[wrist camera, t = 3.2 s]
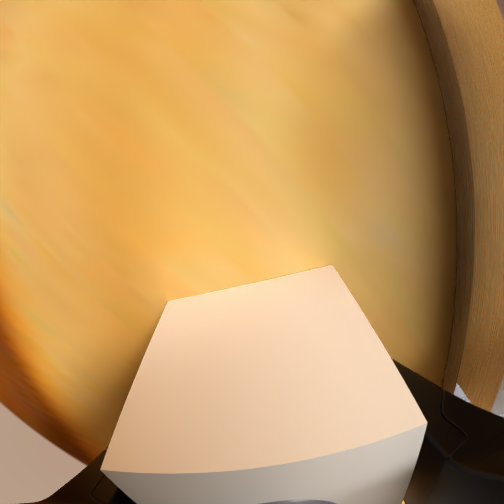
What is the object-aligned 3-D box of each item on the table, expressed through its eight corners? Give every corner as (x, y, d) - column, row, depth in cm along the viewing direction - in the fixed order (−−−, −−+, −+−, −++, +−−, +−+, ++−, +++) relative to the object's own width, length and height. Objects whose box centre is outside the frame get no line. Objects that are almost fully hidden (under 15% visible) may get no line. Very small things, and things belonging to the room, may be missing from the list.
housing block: (345, 385, 11) (393, 525, 5) (215, 411, 11) (204, 554, 5) (332, 264, 9) (428, 425, 3) (167, 300, 9) (99, 471, 4)
